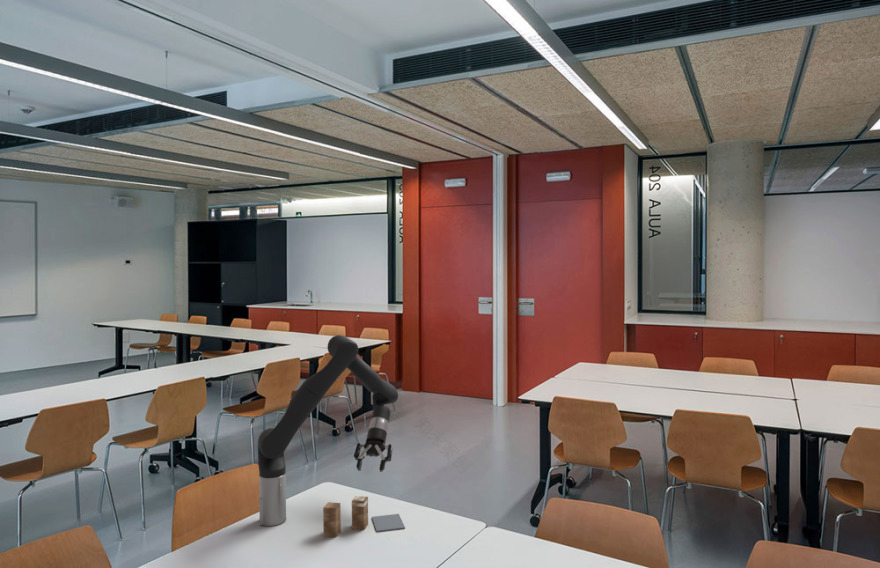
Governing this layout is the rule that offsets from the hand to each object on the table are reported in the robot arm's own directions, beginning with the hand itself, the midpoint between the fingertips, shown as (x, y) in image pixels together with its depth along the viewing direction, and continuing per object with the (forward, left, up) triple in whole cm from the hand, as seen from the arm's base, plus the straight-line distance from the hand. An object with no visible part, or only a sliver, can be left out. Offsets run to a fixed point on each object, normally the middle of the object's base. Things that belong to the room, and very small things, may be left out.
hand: (369, 470), depth 216 cm
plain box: (-15, -14, -16) cm, 26 cm away
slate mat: (+5, -11, -16) cm, 20 cm away
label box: (-5, -11, -16) cm, 20 cm away
